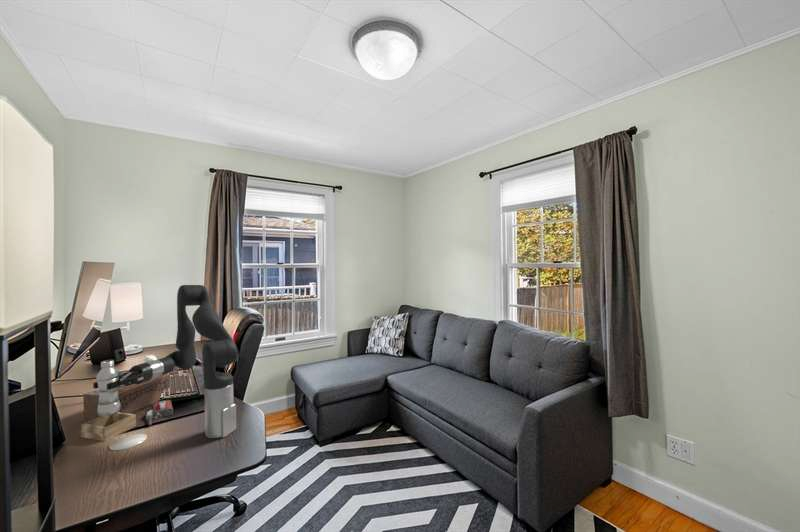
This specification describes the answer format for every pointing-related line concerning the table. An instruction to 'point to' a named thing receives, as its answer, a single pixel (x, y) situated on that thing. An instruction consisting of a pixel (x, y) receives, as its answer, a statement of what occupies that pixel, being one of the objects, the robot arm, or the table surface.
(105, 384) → the plastic bottle
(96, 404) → the tissue box cover
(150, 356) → the voxel character
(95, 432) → the oak holder
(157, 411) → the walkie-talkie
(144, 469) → the table surface
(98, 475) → the table surface
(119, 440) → the grey coaster
